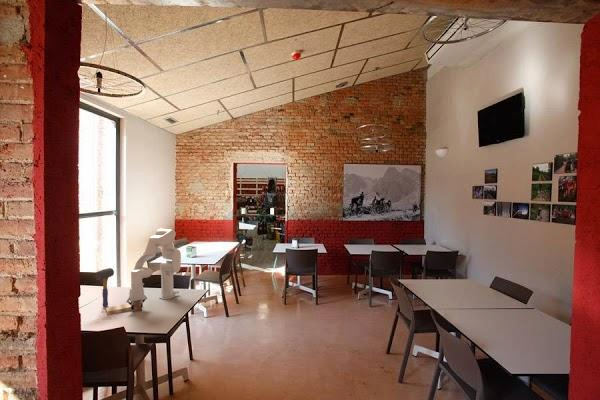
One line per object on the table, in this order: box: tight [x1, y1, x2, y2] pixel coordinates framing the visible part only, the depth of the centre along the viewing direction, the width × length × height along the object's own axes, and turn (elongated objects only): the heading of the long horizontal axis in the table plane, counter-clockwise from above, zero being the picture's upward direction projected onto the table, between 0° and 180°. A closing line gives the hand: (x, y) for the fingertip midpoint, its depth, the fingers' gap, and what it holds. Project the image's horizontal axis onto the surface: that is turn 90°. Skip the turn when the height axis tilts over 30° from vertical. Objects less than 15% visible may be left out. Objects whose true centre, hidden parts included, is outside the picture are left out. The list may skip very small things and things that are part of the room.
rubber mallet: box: [94, 267, 115, 308], centre depth 255 cm, size 12×8×30 cm, turn 167°
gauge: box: [133, 300, 142, 313], centre depth 251 cm, size 5×14×8 cm, turn 36°
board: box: [105, 303, 133, 316], centre depth 249 cm, size 23×10×3 cm, turn 126°
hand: (137, 309), depth 247 cm, fingers closed on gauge, 5 cm apart
